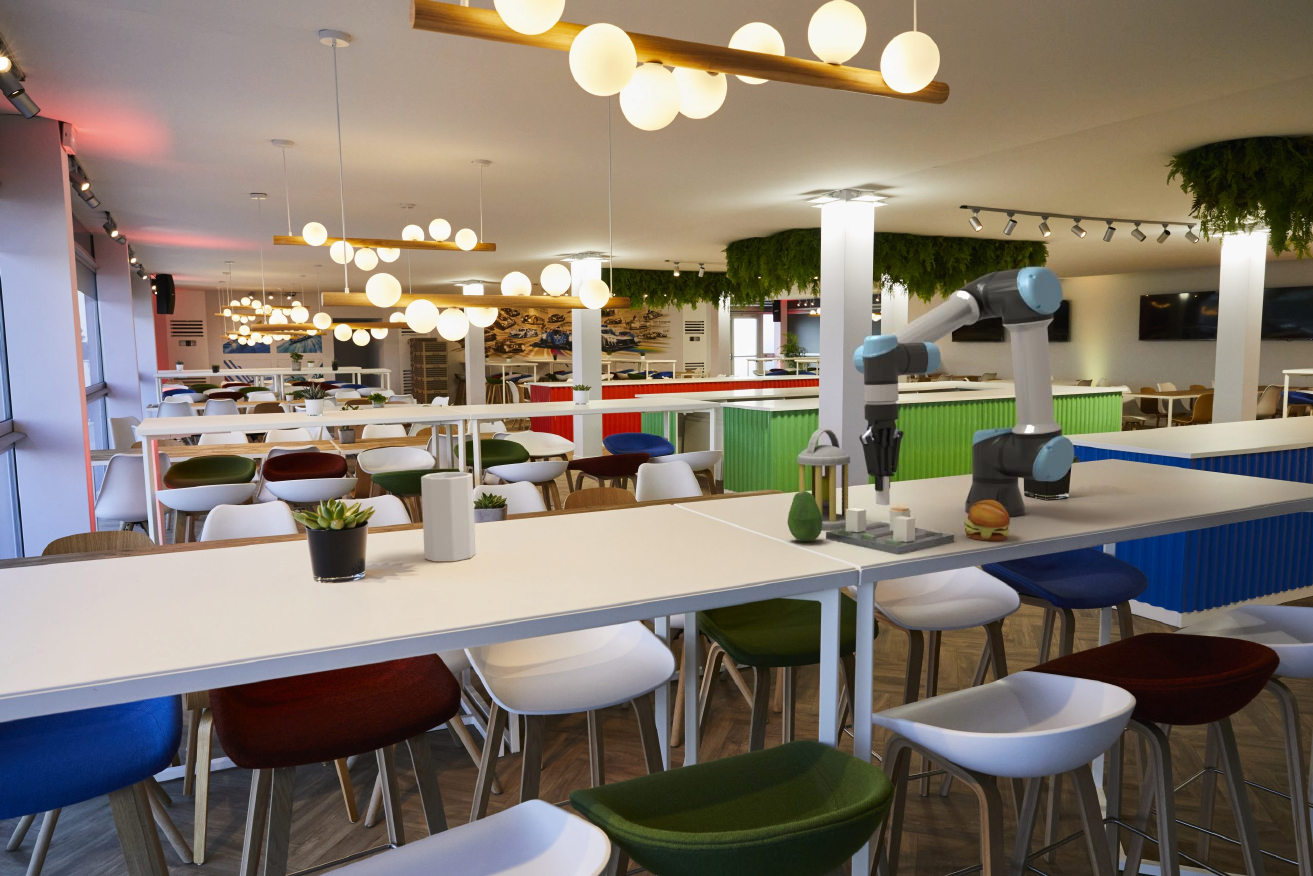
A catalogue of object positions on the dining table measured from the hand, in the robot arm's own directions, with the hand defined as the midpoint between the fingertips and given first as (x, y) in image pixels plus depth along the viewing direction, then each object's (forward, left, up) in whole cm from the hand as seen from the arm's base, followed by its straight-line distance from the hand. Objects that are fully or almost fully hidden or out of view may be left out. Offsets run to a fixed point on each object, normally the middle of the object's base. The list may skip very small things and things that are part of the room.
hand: (882, 504), depth 191 cm
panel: (-2, 0, -9) cm, 9 cm away
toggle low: (+1, -7, -7) cm, 10 cm away
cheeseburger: (-22, +13, -9) cm, 27 cm away
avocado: (+14, -12, -9) cm, 20 cm away
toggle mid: (-6, 0, -7) cm, 10 cm away
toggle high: (+1, +7, -7) cm, 10 cm away
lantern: (-4, -23, -9) cm, 25 cm away
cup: (+85, -52, -9) cm, 100 cm away
